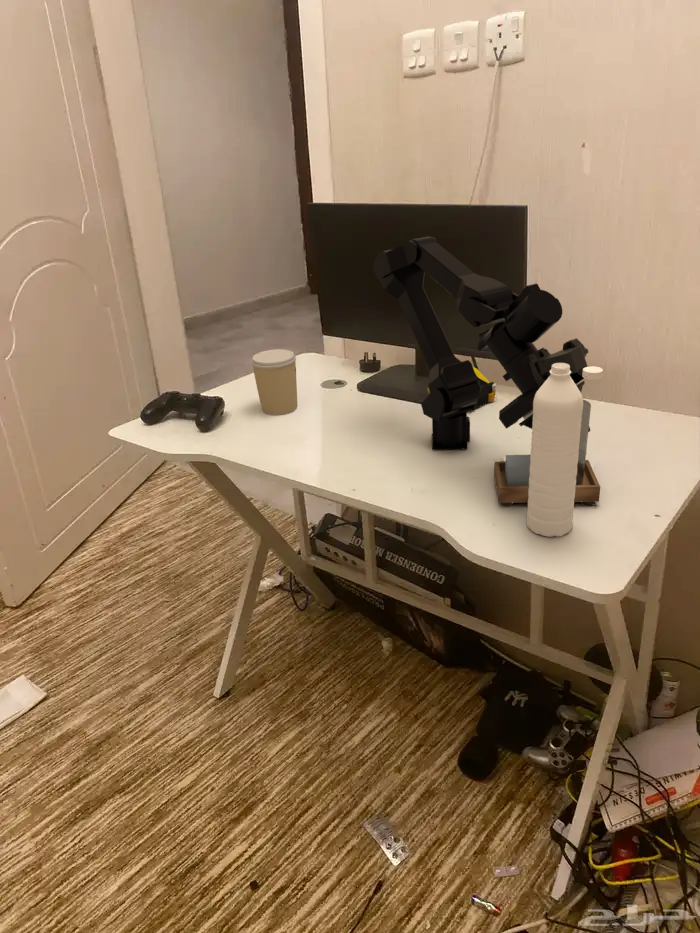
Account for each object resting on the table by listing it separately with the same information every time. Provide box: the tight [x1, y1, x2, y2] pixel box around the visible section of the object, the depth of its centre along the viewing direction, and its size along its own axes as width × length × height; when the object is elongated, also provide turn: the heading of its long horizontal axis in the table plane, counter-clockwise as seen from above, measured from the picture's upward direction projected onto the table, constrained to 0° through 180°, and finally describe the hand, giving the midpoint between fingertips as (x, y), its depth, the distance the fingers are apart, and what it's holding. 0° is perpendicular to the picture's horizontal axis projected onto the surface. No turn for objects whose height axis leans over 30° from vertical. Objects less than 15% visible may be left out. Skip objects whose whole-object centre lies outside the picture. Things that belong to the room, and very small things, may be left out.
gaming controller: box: [426, 366, 498, 410], centre depth 146 cm, size 15×6×10 cm
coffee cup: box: [251, 348, 298, 417], centre depth 148 cm, size 9×9×12 cm
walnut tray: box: [493, 459, 601, 507], centre depth 110 cm, size 15×9×3 cm, turn 84°
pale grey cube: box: [505, 454, 531, 486], centre depth 110 cm, size 4×4×4 cm
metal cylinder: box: [576, 399, 592, 485], centre depth 107 cm, size 5×5×13 cm
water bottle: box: [526, 363, 604, 538], centre depth 96 cm, size 9×6×25 cm
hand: (578, 438), depth 106 cm, fingers open, 5 cm apart
